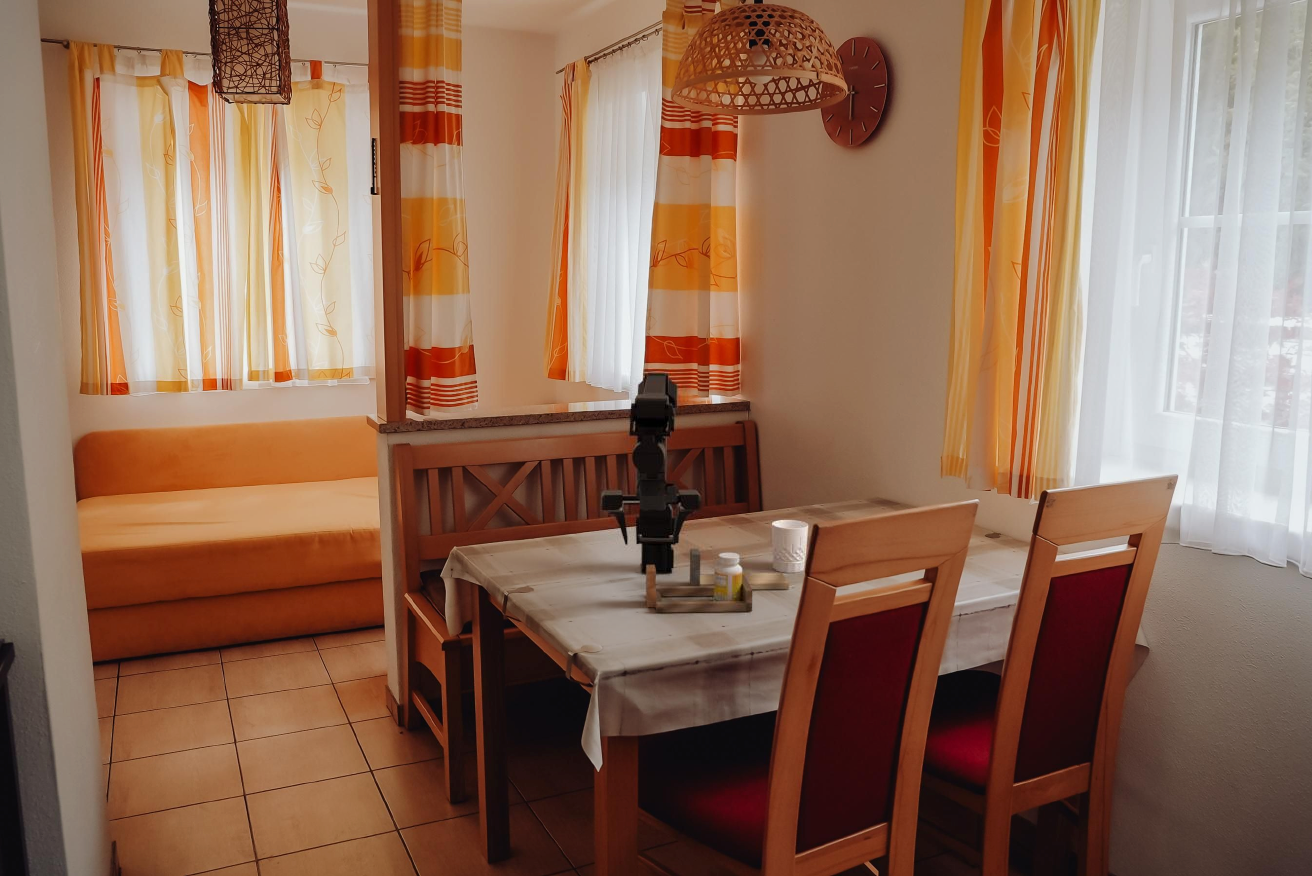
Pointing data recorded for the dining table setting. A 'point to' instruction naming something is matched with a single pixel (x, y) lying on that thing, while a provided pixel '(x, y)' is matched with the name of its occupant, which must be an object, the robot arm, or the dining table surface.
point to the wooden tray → (709, 606)
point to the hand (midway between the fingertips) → (650, 544)
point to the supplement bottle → (728, 578)
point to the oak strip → (753, 579)
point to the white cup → (789, 545)
